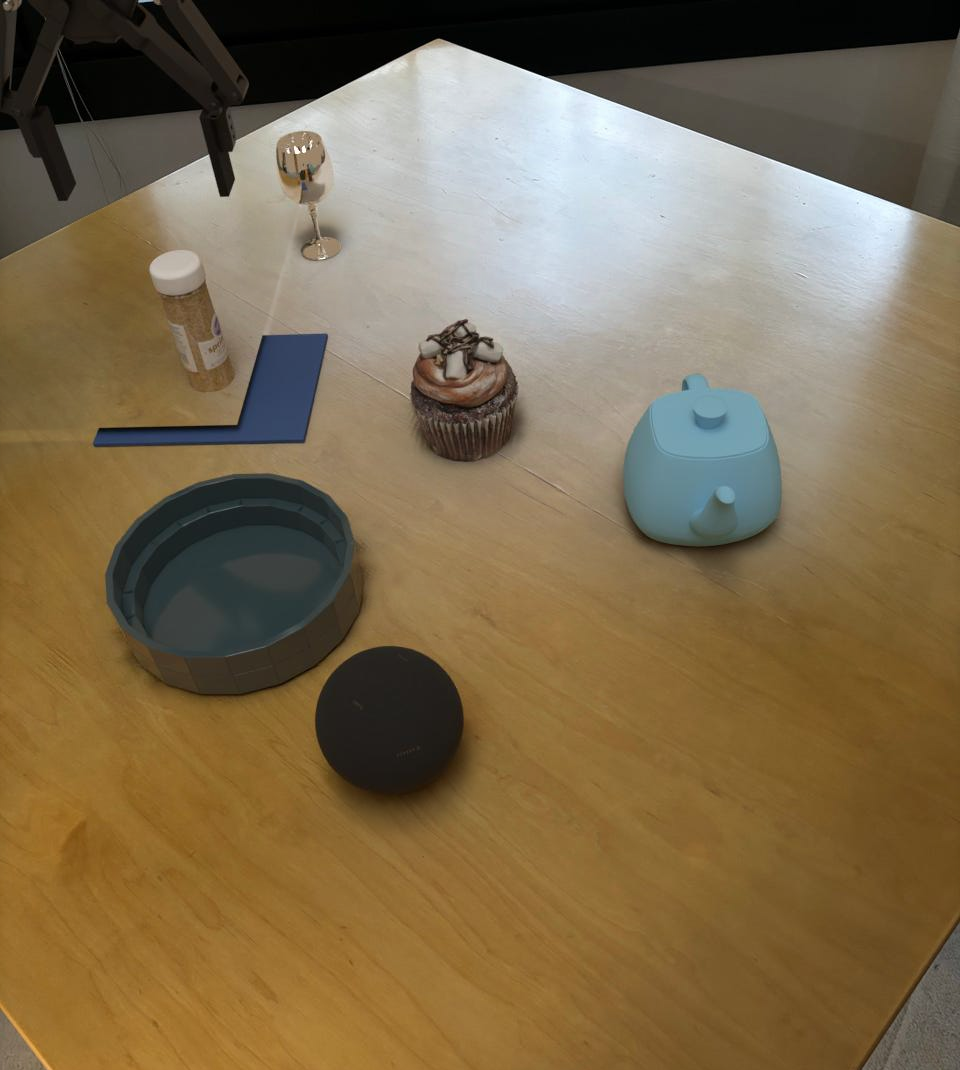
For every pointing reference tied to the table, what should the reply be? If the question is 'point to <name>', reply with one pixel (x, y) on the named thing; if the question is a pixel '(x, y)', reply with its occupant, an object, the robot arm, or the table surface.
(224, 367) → the sprinkles bottle
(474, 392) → the cupcake
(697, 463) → the teapot
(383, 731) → the speaker
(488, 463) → the table surface
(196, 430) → the blue l-shaped plate
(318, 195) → the wineglass
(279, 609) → the bowl
